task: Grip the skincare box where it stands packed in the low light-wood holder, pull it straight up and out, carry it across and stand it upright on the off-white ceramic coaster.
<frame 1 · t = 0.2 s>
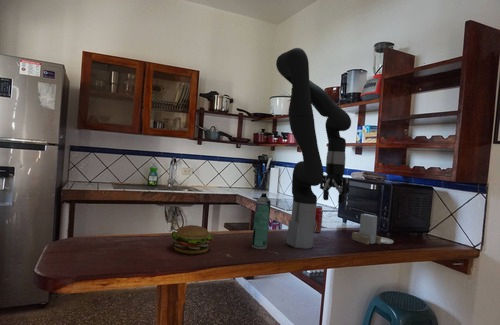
hand: (333, 201, 132), 18 cm above the breakfast bar, tool pointing down, fingers open, 8 cm apart
soda can: (313, 231, 153), on the breakfast bar
holder: (366, 241, 141), on the breakfast bar
food: (192, 249, 109), on the breakfast bar
spray can: (259, 247, 118), on the breakfast bar
skincare box: (366, 242, 141), resting in holder
coaster: (382, 240, 146), on the breakfast bar
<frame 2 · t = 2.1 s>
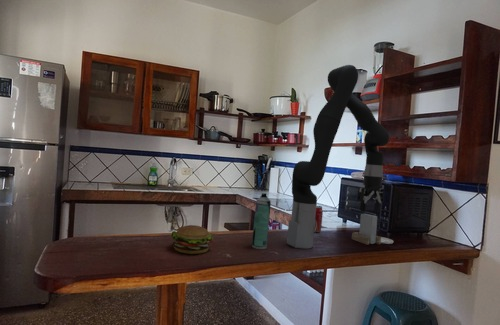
hand: (369, 211, 141), 14 cm above the breakfast bar, tool pointing down, fingers open, 8 cm apart
nothing on the breakfast bar moved.
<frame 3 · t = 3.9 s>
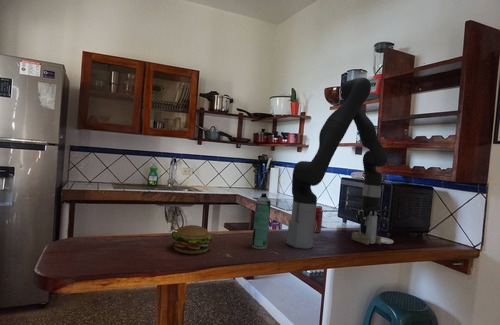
hand: (367, 233, 141), 4 cm above the breakfast bar, tool pointing down, fingers closed on skincare box, 4 cm apart
skincare box: (366, 242, 141), resting in holder, touching gripper
everything else where it was.
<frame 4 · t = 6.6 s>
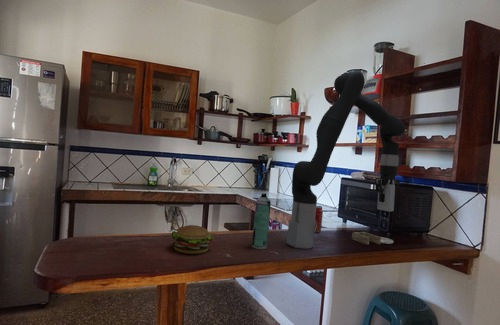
hand: (385, 201, 145), 18 cm above the breakfast bar, tool pointing down, fingers closed on skincare box, 4 cm apart
skincare box: (384, 210, 146), point 14 cm above the breakfast bar, touching gripper
everything else where it was.
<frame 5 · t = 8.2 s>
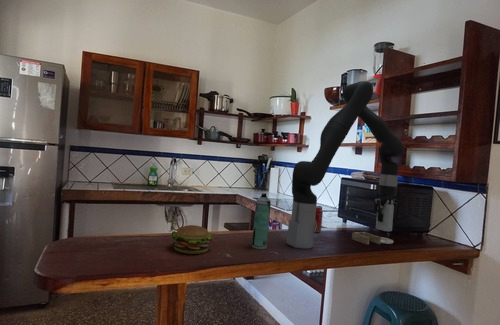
hand: (384, 221, 146), 9 cm above the breakfast bar, tool pointing down, fingers closed on skincare box, 4 cm apart
skincare box: (383, 230, 146), point 5 cm above the breakfast bar, touching gripper
everything else where it was.
when the fingers open (6 cm above the breakfast bar, at t = 9.5 s): skincare box drops 2 cm, resting on coaster.
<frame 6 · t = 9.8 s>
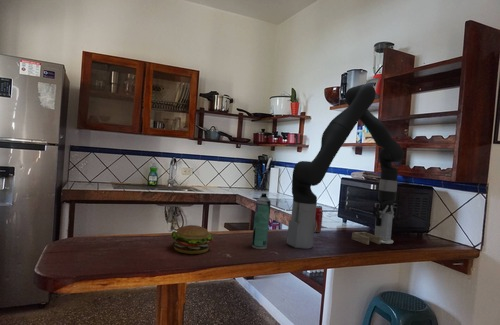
hand: (383, 225, 146), 7 cm above the breakfast bar, tool pointing down, fingers open, 6 cm apart
skincare box: (381, 239, 146), point 1 cm above the breakfast bar, touching coaster
everything else where it was.
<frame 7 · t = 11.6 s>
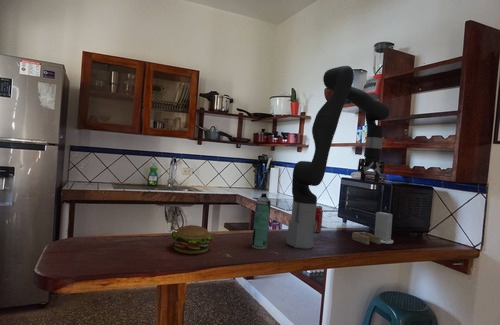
hand: (369, 181, 150), 26 cm above the breakfast bar, tool pointing down, fingers open, 8 cm apart
nothing on the breakfast bar moved.
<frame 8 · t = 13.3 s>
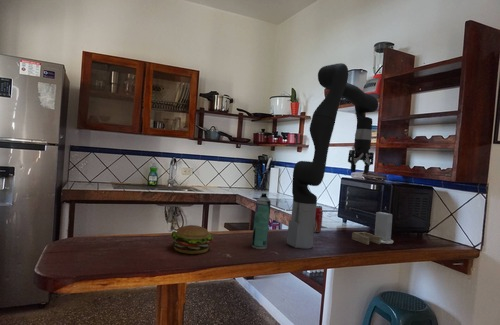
hand: (359, 172, 153), 30 cm above the breakfast bar, tool pointing down, fingers open, 8 cm apart
nothing on the breakfast bar moved.
at the end: skincare box 0.4 cm off-centre on the coaster, point 0.6 cm above the coaster's base; skincare box tilted 0°; the gripper is holding nothing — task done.
